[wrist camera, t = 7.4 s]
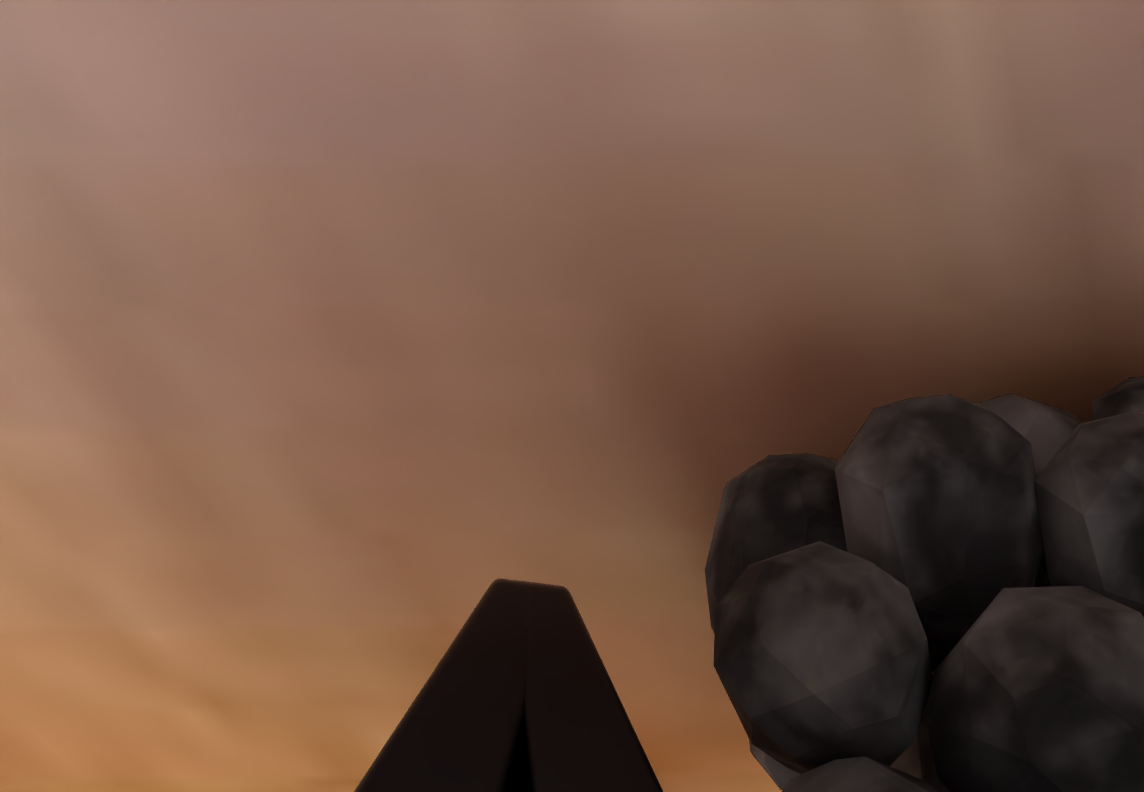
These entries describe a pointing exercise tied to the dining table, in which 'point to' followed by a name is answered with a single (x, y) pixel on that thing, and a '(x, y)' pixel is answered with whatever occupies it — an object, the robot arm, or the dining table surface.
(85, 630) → the dining table surface
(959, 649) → the fruit
